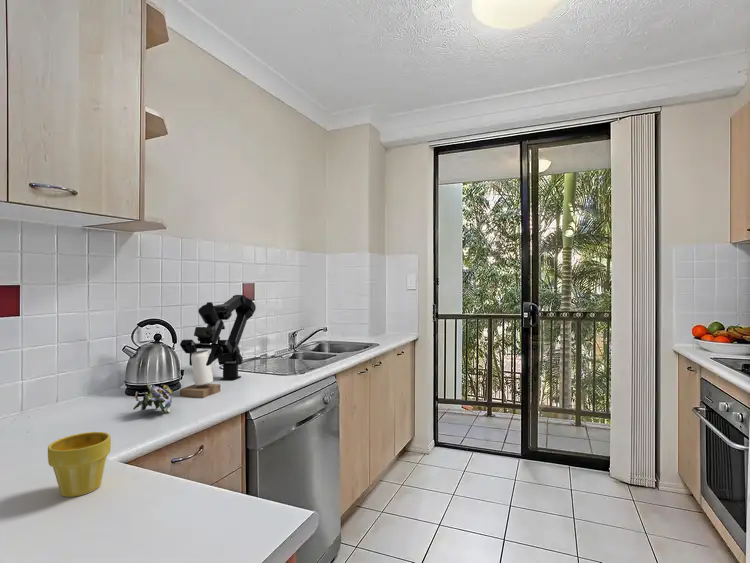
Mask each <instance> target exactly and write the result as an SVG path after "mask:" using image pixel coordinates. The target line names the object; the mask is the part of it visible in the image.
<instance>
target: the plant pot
mask: <svg viewBox="0 0 750 563" xmlns="http://www.w3.org/2000/svg"><path fill="white" fill-rule="evenodd" d="M111 438H112V437H111V435H110V434H109V433H107V432H103V431H91V432H90V431H88V432H82V433H77V434H72V435H68V436H65V437H62V438H58V439H57V440H54V441H53V442H51V443H50V444H49V445H47V446H48V447H47V462H48V466H50V467H51V468H52V469H53V472H54V475H55V478H56V484H57V486H58V490H59V492H60V496H61V497H64V498H74V497H81V496H84V495H87V494H90V493H92V492H95V491H96V490H97V489H99V488H100V487H101V485H102V480H103V477H104V471H105V466H106V461H107V457H108V456H109V454H110V453H111V451H112V450H111V448H112V447H111V445H112V443H111V441H112V440H111Z"/></svg>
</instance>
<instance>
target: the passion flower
mask: <svg viewBox="0 0 750 563" xmlns="http://www.w3.org/2000/svg"><path fill="white" fill-rule="evenodd" d="M145 386H146V387H147V389H148V390H149V393H148V392H144V396H142V397H143V399H142V400H140V399H139V398H138V395H137V394H136V395H134V399H136V402H137V404H135V406H134V407H133V411H135V410H136V409H137V408H138V407H140V408H141V409H140V413H139V416H141V415H142V413H143V412H144V410H146V408H148V406H150V407H152V406H153V405H154V407H155V410H157V409H159V408H160V410H161V411H162V412H163V413H164V414H170V413H171V409H170V408H171V406H172V402H173V401H172V396H170V394H171V395H174V392H173V391H174V390H172V389H170V387H169V385H168V384H164V385H163V387H160V386H156V385H155V384H151V385H150V384H149V383H146V385H145ZM169 393H170V394H169Z"/></svg>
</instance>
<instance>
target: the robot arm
mask: <svg viewBox="0 0 750 563" xmlns="http://www.w3.org/2000/svg"><path fill="white" fill-rule="evenodd" d="M256 308H257V306H256V303H255V302H254V301H253V300H252V299H250V298H248V297H246V295H244V294H234V295H233V296H232V297H231V298H230V299H228V300H227V301H225V302H224V303H222V304H215V305H214V303H213V302H211V301H210V302H208V301H207V302H206V304H203V305H201V307H200V308H198V309H197V310H198V311H197V312H198V314H199V316H200V318H201V319H202V321H203V323H204V324H206V326H195V328H194V329H195V330H194V333H193V336H194V337H197V339H196V340H197V341H198V342H195V341H194V340H193V339H182V340H181V341H180V343H179V346H180V348H181V349H182V350H183V351H184V353H185V354H189V366H191V367H192V362H191V356H192V353H193V352H197V351H198V349H202V350H211V351H210V352H209V357H208V361H207V363H206V365H207V366H208V365H210V364H211V365H212V363H213V362H214V361H216V360H217V362H218V365H219V366H222V377H220V378H219V379H220V380H222V381H223V380H225V381H234V380H237V379H240V378H242V375H239V365H243V360H244V359H243V356H242V355H241V351H240V348H239V345H240V341H241V339H242V336H243V333H244V329H245V327H246V325H247V323H248V322H247V321H248V320H249V319H250V318H252V317H253V315H254V314H255V312H256V310H257V309H256ZM234 311H235V313H236V317H235V320H234V322H233V325H232V328H231V330H230V333H229V336H228V338H227V339H221V337H220V335H221V332H222V330H225V329H226V327H225V323H224V321H227V320H230V318H231V317H232V315H233V312H234Z"/></svg>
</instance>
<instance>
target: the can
mask: <svg viewBox="0 0 750 563" xmlns="http://www.w3.org/2000/svg"><path fill="white" fill-rule="evenodd" d="M208 350H209V349H202V350H197V352H193V353H192V356H191V362H192V366H191V367H192V373H193V374H192V376H193V382H194V384H195V385H196V386H201V385H206V384H213V382H214V377H213V370H212V363H211V364H210V365H208V366H207V365H206V363H207V361H208V357H209V355H210V352H208Z"/></svg>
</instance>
